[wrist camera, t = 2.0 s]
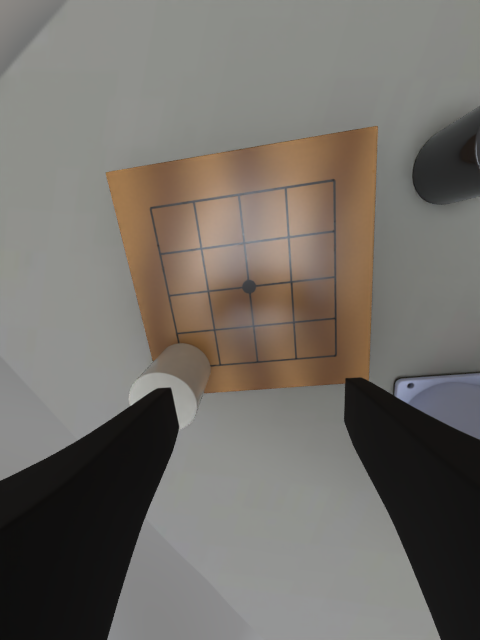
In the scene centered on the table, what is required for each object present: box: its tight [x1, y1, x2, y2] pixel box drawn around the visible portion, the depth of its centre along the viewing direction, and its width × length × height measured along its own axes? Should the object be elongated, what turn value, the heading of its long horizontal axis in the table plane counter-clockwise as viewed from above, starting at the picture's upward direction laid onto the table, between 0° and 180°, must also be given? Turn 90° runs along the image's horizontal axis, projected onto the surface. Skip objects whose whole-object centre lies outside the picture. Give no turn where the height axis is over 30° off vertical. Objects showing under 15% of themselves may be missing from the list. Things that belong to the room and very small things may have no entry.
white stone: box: [129, 343, 211, 430], centre depth 17 cm, size 4×4×5 cm
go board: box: [106, 126, 378, 393], centre depth 17 cm, size 17×17×1 cm
